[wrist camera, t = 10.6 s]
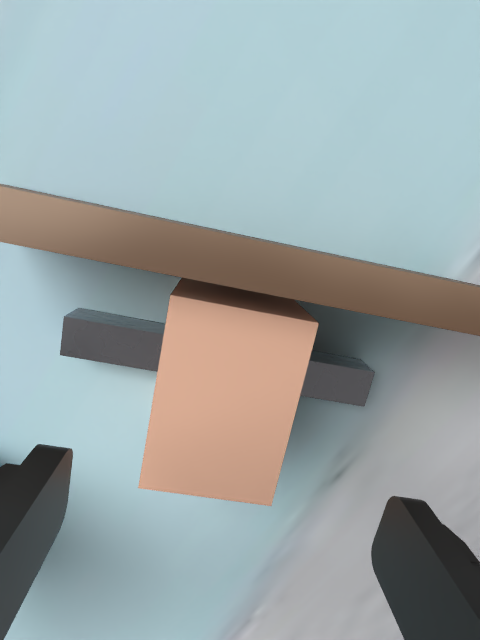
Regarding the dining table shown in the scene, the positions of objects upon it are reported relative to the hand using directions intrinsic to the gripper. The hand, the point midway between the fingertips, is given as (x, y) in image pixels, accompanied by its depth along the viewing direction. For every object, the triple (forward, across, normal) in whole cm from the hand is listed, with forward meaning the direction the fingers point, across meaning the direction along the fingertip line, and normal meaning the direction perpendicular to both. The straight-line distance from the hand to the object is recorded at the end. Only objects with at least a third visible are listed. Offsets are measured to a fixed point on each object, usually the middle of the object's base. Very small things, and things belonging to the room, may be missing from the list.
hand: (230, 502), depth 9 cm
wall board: (+12, 0, -5) cm, 13 cm away
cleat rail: (+12, 0, 0) cm, 12 cm away
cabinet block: (+12, 0, 0) cm, 12 cm away
